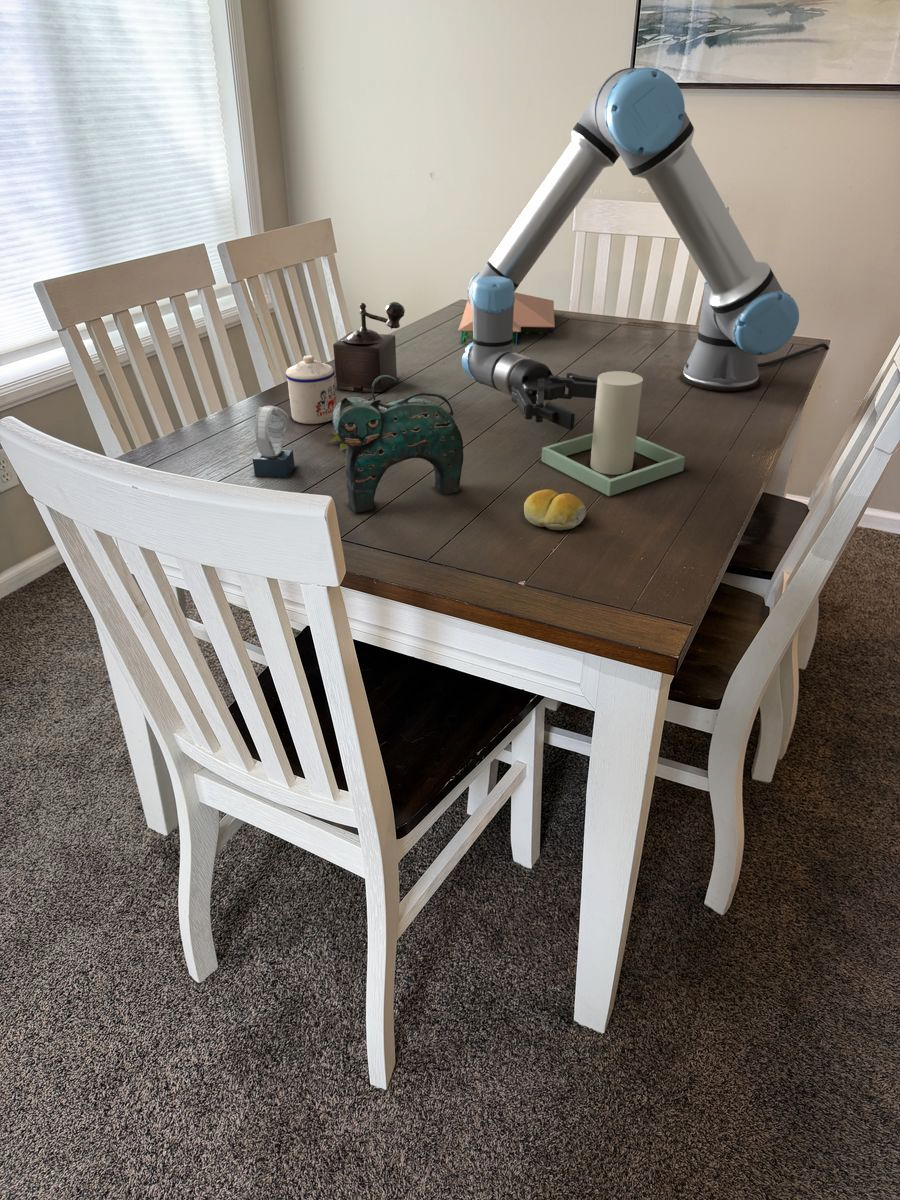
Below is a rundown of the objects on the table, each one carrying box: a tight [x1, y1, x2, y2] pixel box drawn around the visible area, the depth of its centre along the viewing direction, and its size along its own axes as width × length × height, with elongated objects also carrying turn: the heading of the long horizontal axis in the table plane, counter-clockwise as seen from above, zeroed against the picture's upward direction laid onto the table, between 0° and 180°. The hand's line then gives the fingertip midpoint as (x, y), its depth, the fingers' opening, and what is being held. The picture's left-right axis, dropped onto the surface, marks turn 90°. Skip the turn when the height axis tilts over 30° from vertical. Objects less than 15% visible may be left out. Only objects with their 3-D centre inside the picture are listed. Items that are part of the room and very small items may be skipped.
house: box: [457, 291, 555, 345], centre depth 209 cm, size 23×33×8 cm
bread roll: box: [523, 489, 587, 531], centre depth 122 cm, size 8×9×4 cm
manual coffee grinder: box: [332, 301, 406, 393], centre depth 170 cm, size 16×11×18 cm
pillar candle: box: [589, 370, 644, 476], centre depth 134 cm, size 7×7×15 cm
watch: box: [252, 405, 296, 479], centre depth 135 cm, size 6×8×11 cm
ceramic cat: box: [332, 375, 465, 514], centre depth 124 cm, size 20×6×20 cm, turn 114°
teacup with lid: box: [285, 354, 337, 425], centre depth 157 cm, size 12×9×12 cm
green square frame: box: [541, 432, 686, 497], centre depth 138 cm, size 17×17×2 cm
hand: (604, 413), depth 136 cm, fingers open, 13 cm apart
